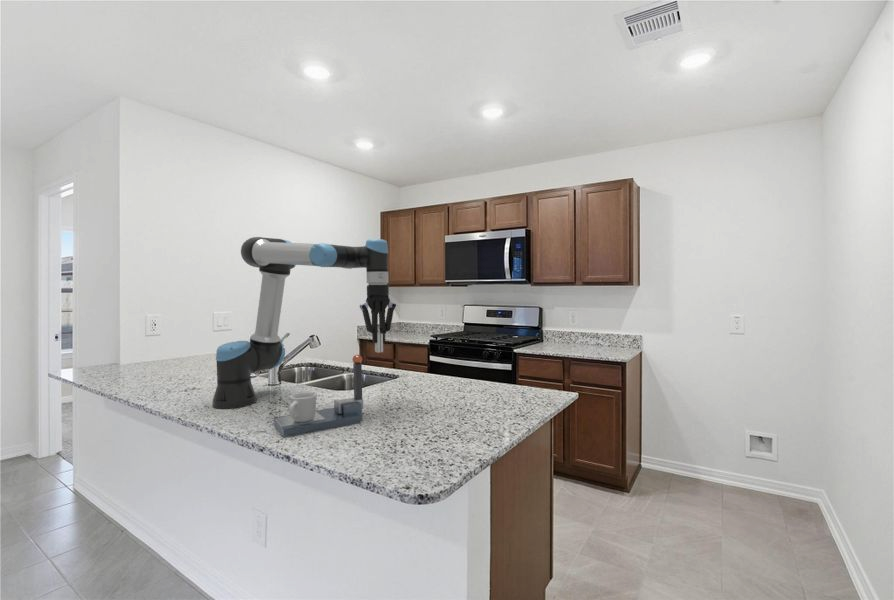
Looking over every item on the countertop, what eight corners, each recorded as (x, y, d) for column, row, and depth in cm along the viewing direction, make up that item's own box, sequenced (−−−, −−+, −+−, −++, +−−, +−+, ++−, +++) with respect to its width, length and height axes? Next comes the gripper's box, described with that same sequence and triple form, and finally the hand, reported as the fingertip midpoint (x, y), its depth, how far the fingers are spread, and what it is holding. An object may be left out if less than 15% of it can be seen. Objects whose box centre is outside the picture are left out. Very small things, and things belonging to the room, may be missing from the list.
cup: (302, 428, 130) (301, 401, 130) (279, 426, 132) (278, 399, 132) (322, 417, 140) (321, 392, 140) (300, 415, 142) (299, 391, 142)
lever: (334, 410, 148) (332, 356, 147) (360, 406, 153) (359, 353, 152) (339, 414, 144) (337, 358, 143) (365, 409, 149) (364, 355, 148)
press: (274, 425, 142) (273, 408, 142) (349, 412, 156) (349, 396, 155) (283, 437, 130) (283, 419, 130) (365, 422, 144) (364, 405, 144)
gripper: (363, 284, 146) (365, 355, 147) (399, 284, 153) (401, 351, 154) (355, 284, 152) (356, 352, 153) (390, 284, 160) (391, 348, 160)
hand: (379, 351), depth 154 cm, fingers closed
